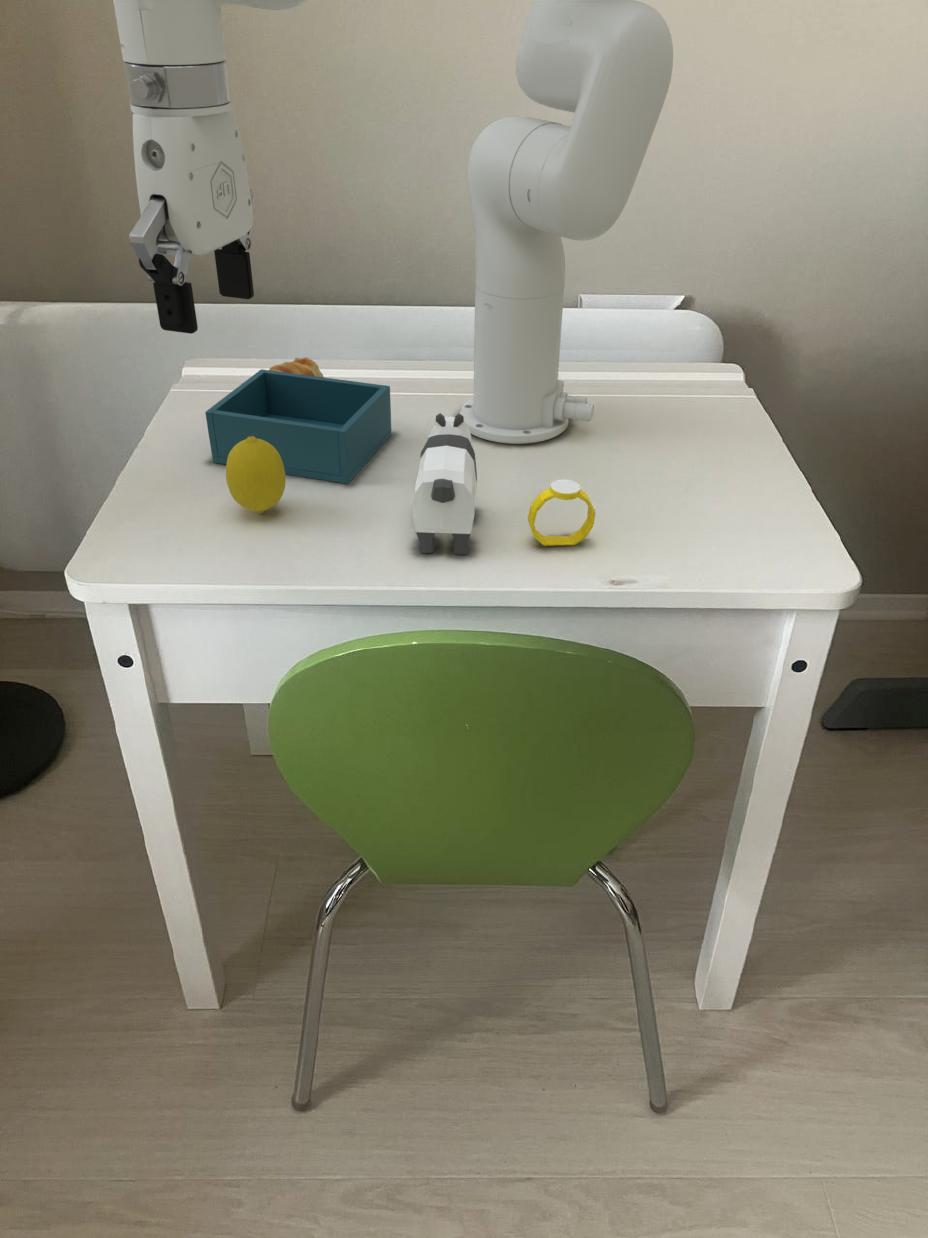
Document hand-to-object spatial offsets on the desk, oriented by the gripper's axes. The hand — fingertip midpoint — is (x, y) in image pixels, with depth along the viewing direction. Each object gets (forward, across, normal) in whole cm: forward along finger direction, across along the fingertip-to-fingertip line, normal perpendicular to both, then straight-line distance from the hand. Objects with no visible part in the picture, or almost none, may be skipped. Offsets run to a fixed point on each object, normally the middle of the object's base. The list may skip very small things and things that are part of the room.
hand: (209, 312), depth 84 cm
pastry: (+19, +28, +8) cm, 35 cm away
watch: (+19, +4, -31) cm, 37 cm away
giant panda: (+19, +4, -20) cm, 28 cm away
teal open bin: (+19, +15, 0) cm, 24 cm away
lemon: (+20, 0, -2) cm, 20 cm away
